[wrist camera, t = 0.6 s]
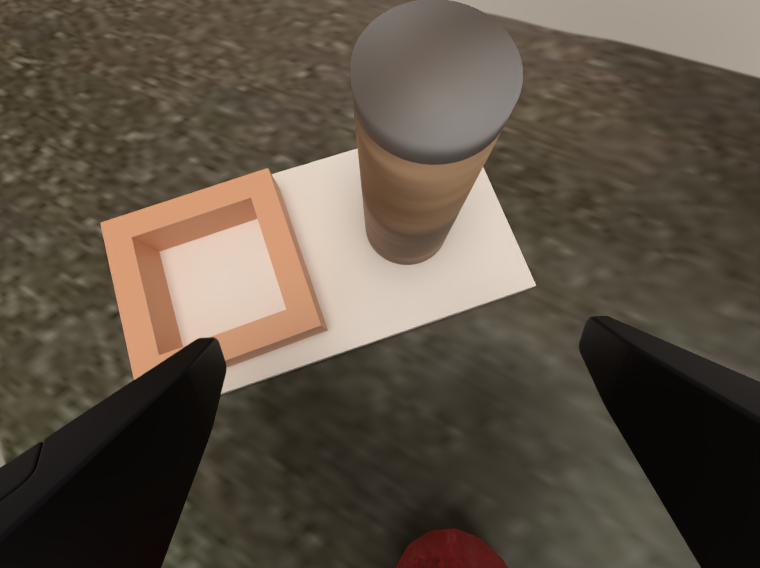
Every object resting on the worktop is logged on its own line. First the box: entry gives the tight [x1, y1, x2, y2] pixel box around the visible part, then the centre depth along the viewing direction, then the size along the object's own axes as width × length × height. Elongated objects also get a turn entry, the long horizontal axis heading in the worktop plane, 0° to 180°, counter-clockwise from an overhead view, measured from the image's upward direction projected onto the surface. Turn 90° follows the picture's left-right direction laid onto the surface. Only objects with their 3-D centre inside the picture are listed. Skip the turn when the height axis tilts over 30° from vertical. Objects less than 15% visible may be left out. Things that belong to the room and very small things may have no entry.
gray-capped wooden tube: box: [350, 0, 523, 265], centre depth 16 cm, size 5×5×12 cm
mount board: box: [159, 149, 536, 395], centre depth 22 cm, size 23×12×1 cm, turn 109°
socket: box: [101, 168, 328, 380], centre depth 20 cm, size 9×9×2 cm
